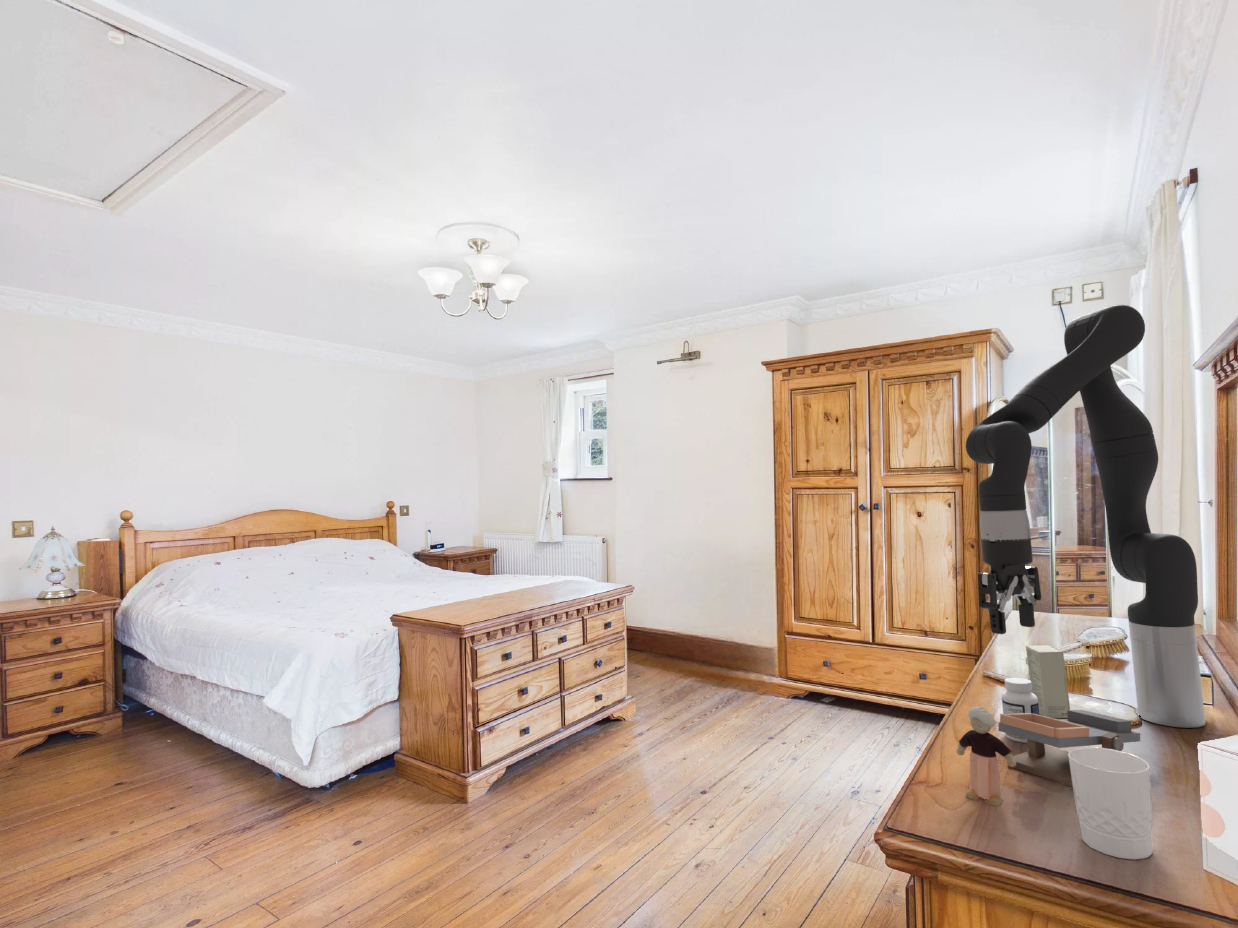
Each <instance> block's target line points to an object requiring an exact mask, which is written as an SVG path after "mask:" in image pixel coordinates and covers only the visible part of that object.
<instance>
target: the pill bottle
mask: <svg viewBox="0 0 1238 928" xmlns="http://www.w3.org/2000/svg"><path fill="white" fill-rule="evenodd" d="M1004 687H1005V689H1006V690H1004V691H1003V692H1002V694H1001V703H1002V704H1001V705H1002V714H1016V713H1032V714H1038V715H1041V714H1040V713H1039V704H1038V698H1037V696H1036V695H1035V694H1033V693H1031V691H1032V683H1031V681H1030V679H1028V678H1023V677H1006V678H1005V679H1004ZM1004 735H1005V737H1007V739H1009V740H1012V741H1014V742H1017V743H1022V744H1023V743H1024V744H1027V739H1026V738H1022V737H1019V736H1015V735H1012V734H1008V733H1004Z"/></svg>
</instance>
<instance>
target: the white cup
mask: <svg viewBox="0 0 1238 928" xmlns="http://www.w3.org/2000/svg"><path fill="white" fill-rule="evenodd" d="M1068 758H1069V765H1070V772H1071V779H1072V785H1073V787H1072V790H1073V798H1074V804H1075V807H1076V815H1077V817H1078V821H1079V825H1080V833H1081V838H1082V839H1081V840H1082V841H1083V842H1084V844H1086V845H1087V846H1089V847H1090V848H1091V849H1093V850H1094V851H1097V852H1099V853H1102V854H1104V855H1107V856H1112V857H1115V858H1119V859H1123V860H1124V859H1126V860H1143V859H1147V858H1149V857H1150V856H1151V855H1152V854H1153V840H1152V828H1153V815H1152V814H1153V809H1152V806H1153V805H1152V804H1153V803H1152V785H1151V767H1150V764H1149V762H1147V761H1146V760H1145V759H1143V758H1141V757H1140V756H1137V755H1134V754H1132V753H1129V752H1125V751H1123V750H1122V751H1118V750H1113V749H1107V748H1102V747H1095V746H1094V747H1093V746H1092V747H1091V746H1081V747H1076V748H1073V749H1071V750H1069V751H1068Z"/></svg>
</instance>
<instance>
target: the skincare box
mask: <svg viewBox="0 0 1238 928" xmlns="http://www.w3.org/2000/svg"><path fill="white" fill-rule="evenodd" d="M1025 650H1026V660H1027V669H1028V677H1029V680H1030V681H1031V683H1032V691H1031V693H1033V694H1035V695H1036V696H1037V698H1038V704H1039V714H1040V715H1042V716H1045V717H1049V718H1053V719H1067V710H1071V706H1070V705H1071V704H1070V699H1069V698H1070V697H1069V690H1068V682H1067V674H1066V666H1065V657H1064V656H1065V655H1064V651H1063V650H1061V649H1059V648H1057V647H1055V646H1052V645H1049V644H1046V645H1045V644H1044V645H1042V644H1041V645H1039V644H1038V645H1025Z"/></svg>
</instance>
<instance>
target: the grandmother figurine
mask: <svg viewBox="0 0 1238 928" xmlns="http://www.w3.org/2000/svg"><path fill="white" fill-rule="evenodd" d="M967 716H968V718H969V720H970V726H971V728H972V729H971V730H968V731H967V732H966V733H964V735H963V736H962V737H961V738H960V739H959V740H958V744H957V748H956V753H957V755H958V756H964V755H965V751H966V750H967V748H968V747H971V751H970V754H969V772H970V773H969V774H970V775H969V777H970V778H969V781H970V783H969V784H970V789H968V790H966V792H965V797H966V798H968V799H970V800H980V799H983V800H984V802H985V803H986V804H987V805H991V806H994V807H995V806H996V807H997V806H1001V805H1002V802H1003V799H1002V797H1001V773H1000V766H999V760H998V756H997V754H999V755H1000V756H1001V757H1003V758H1004V760H1005V761H1007V762H1006V763H1007V766H1008V765H1009V766H1008V767H1011V768H1013V767H1015V766H1016V762H1015V761H1014V759H1013V757H1014V756H1013V754H1012V753H1011V752H1012V750H1011V749H1010V747H1008V746H1007V744H1005V743H1004V742H1003V741H1002V740H1001V739H999V737H997V736H995V735H994V734H991V732H990V731H991V730H992V728H993V727H994V726H995V725H996V724H997V721H996V720H995V717H994V716H993V714H992V713H991V712H990V711H989V710H987V709H986V708H985V707H983V706H972V707H970V708H969V710H968V715H967Z"/></svg>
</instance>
